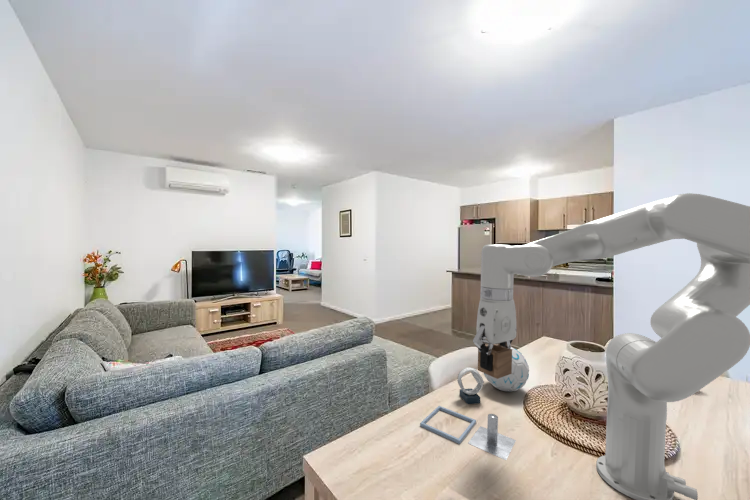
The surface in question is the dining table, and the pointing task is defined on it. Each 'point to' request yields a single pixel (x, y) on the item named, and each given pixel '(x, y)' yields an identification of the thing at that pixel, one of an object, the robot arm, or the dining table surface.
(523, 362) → the puzzle ball
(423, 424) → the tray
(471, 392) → the watch
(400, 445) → the dining table surface
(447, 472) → the dining table surface
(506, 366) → the collar
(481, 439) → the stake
